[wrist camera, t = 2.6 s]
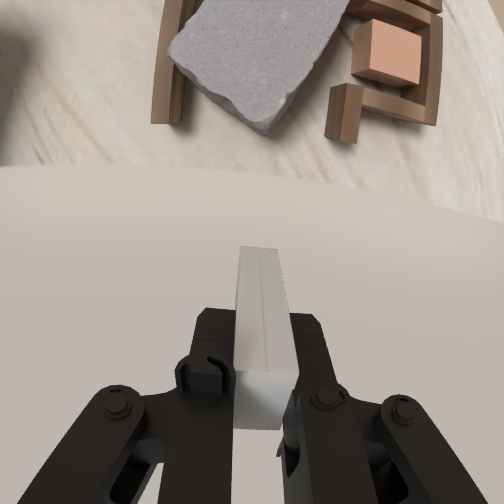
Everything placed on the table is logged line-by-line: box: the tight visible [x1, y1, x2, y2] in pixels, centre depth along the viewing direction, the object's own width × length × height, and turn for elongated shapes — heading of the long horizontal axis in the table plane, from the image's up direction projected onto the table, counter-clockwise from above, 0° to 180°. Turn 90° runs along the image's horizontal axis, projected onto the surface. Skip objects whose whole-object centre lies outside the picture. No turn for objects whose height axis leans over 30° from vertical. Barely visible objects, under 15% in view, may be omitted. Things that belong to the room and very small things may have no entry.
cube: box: [351, 19, 421, 87], centre depth 17 cm, size 4×4×4 cm
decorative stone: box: [167, 0, 350, 136], centre depth 15 cm, size 15×7×10 cm
